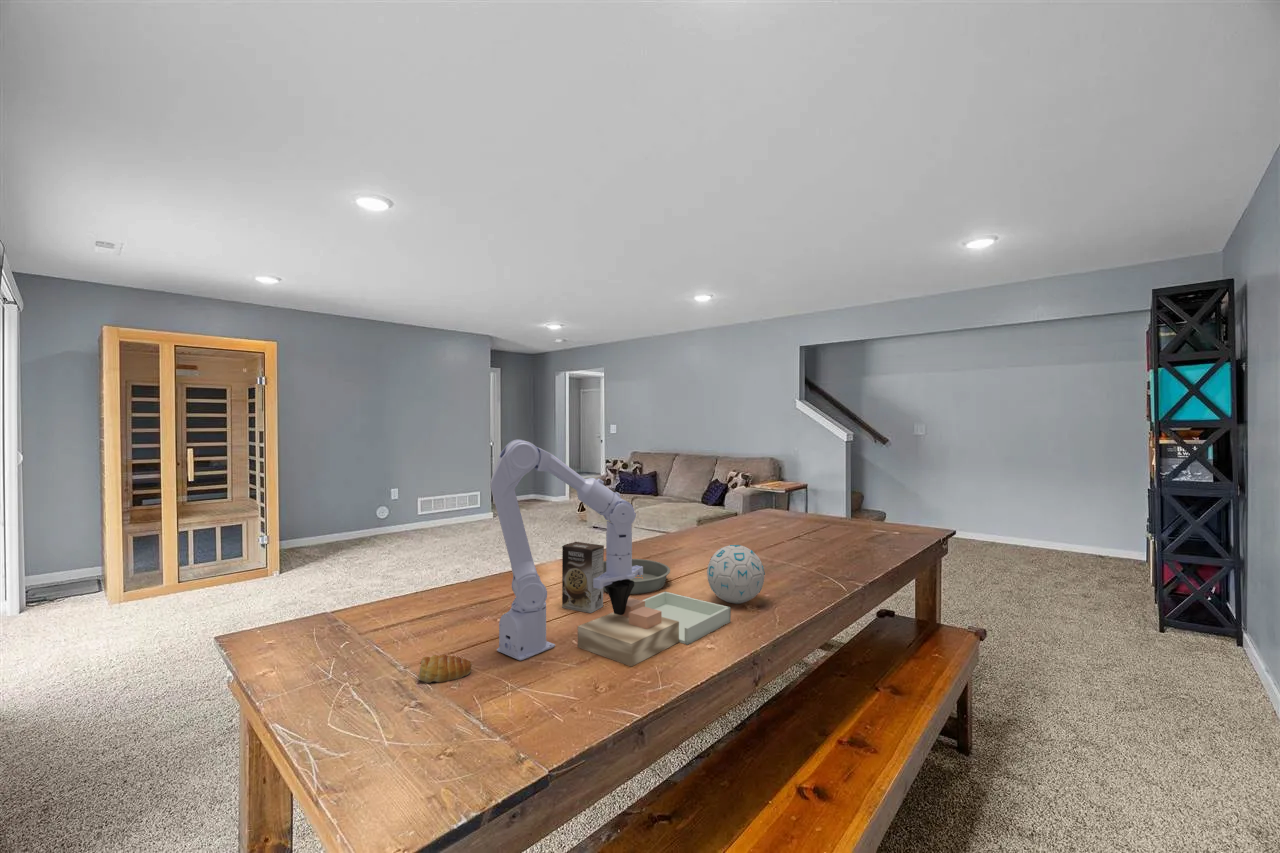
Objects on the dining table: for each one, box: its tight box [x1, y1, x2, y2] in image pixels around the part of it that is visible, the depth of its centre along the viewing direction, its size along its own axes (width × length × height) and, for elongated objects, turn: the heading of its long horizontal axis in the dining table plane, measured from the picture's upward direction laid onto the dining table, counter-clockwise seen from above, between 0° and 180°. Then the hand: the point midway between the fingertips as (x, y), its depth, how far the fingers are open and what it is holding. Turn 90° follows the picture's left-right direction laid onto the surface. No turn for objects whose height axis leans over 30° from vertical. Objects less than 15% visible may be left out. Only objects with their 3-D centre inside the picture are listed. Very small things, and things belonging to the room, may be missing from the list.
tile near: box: [629, 606, 662, 629], centre depth 124 cm, size 5×5×2 cm
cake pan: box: [603, 558, 671, 595], centre depth 170 cm, size 25×25×4 cm
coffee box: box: [561, 541, 605, 614], centre depth 148 cm, size 9×6×16 cm
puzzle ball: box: [706, 544, 766, 605], centre depth 153 cm, size 15×15×15 cm
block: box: [577, 611, 680, 668], centre depth 124 cm, size 16×15×4 cm
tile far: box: [622, 596, 645, 617], centre depth 131 cm, size 5×5×2 cm
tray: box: [642, 591, 732, 646], centre depth 137 cm, size 18×20×4 cm
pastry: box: [418, 653, 473, 684], centre depth 109 cm, size 9×7×4 cm
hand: (619, 613), depth 128 cm, fingers closed
